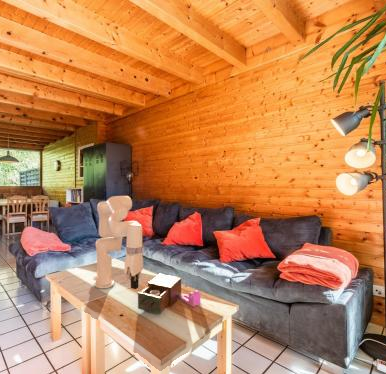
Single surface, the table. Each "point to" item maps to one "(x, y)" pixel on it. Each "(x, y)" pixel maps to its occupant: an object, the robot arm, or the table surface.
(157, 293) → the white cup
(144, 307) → the drawer
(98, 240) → the robot arm
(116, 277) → the table surface
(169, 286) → the cabinet
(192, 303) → the bracket
